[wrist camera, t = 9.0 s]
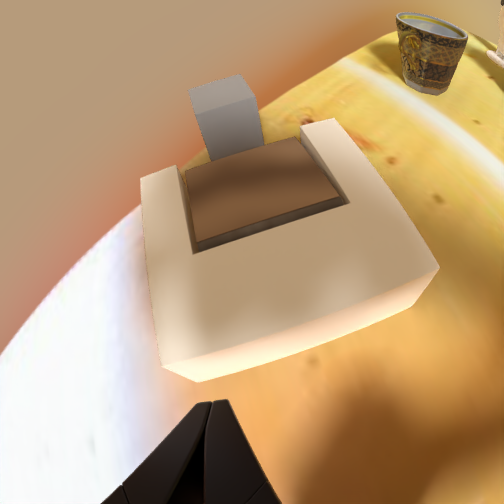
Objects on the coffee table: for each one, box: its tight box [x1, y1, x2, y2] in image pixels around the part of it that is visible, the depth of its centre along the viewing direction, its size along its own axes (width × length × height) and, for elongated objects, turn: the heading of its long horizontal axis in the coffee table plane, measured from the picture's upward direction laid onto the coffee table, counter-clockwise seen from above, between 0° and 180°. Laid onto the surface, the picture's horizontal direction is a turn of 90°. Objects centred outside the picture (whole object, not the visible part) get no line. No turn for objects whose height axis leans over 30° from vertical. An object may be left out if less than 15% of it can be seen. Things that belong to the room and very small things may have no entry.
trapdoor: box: [185, 137, 344, 252], centre depth 21 cm, size 9×9×1 cm
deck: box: [140, 118, 440, 382], centre depth 22 cm, size 14×16×6 cm
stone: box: [188, 74, 264, 162], centre depth 28 cm, size 5×5×8 cm
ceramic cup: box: [396, 12, 468, 95], centre depth 30 cm, size 13×10×10 cm
